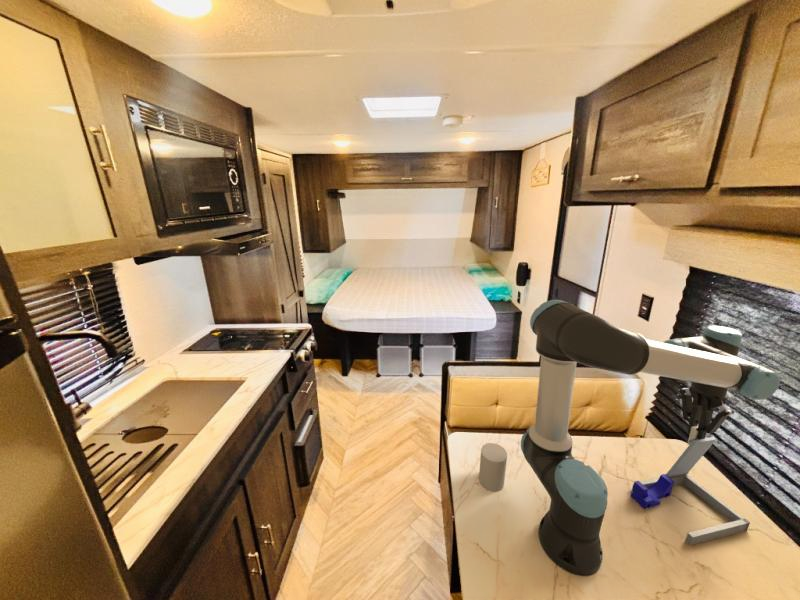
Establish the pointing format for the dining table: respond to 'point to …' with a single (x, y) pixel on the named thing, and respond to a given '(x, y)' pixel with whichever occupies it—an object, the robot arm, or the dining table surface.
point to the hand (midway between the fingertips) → (693, 444)
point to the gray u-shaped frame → (717, 531)
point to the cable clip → (652, 492)
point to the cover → (690, 456)
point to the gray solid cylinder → (492, 467)
